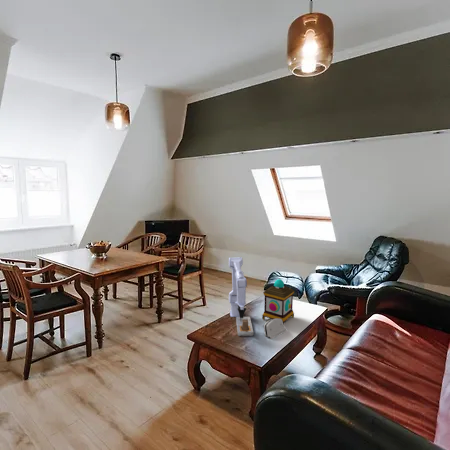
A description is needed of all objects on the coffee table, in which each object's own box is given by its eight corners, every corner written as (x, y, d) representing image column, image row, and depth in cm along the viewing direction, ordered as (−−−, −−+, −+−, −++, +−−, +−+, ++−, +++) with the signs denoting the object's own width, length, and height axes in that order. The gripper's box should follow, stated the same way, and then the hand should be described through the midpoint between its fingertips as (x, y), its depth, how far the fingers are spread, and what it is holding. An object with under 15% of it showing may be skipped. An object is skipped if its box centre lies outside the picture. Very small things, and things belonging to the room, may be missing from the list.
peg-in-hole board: (236, 320, 216) (236, 316, 215) (249, 319, 216) (249, 316, 215) (238, 335, 194) (238, 332, 193) (253, 335, 194) (253, 331, 194)
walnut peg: (242, 330, 201) (242, 319, 199) (247, 330, 201) (247, 319, 199) (242, 333, 197) (242, 321, 196) (248, 333, 197) (248, 321, 196)
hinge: (270, 339, 189) (267, 323, 190) (265, 339, 193) (261, 323, 194) (287, 330, 200) (283, 315, 201) (281, 330, 204) (278, 315, 205)
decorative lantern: (284, 327, 204) (285, 286, 200) (259, 319, 216) (260, 280, 212) (296, 317, 220) (298, 278, 216) (272, 310, 232) (273, 273, 227)
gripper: (234, 292, 205) (234, 310, 207) (236, 300, 191) (235, 320, 193) (244, 291, 205) (244, 310, 208) (246, 300, 191) (246, 320, 193)
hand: (241, 315), depth 200 cm, fingers open, 7 cm apart
